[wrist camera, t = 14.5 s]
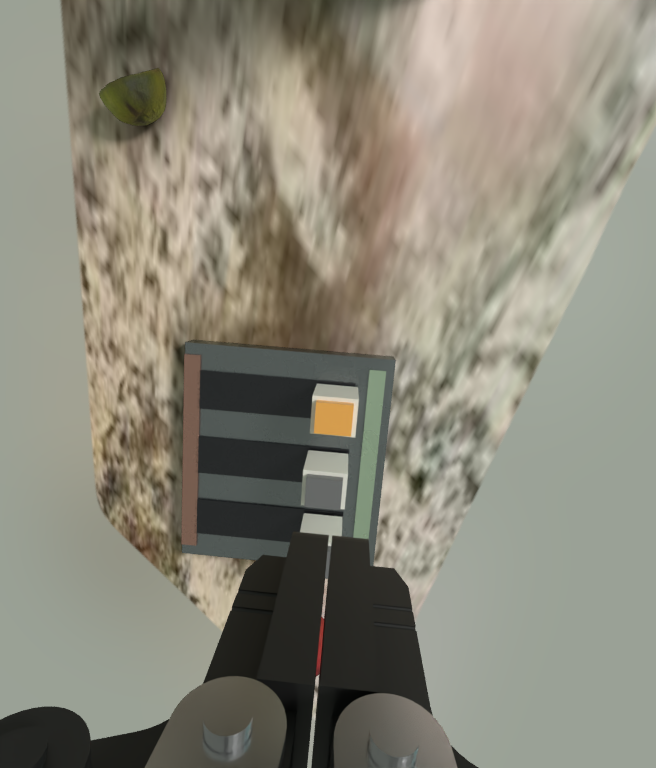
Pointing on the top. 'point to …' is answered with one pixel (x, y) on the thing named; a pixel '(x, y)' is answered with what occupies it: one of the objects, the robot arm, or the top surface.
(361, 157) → the top surface
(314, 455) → the breaker
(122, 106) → the lime
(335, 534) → the breaker
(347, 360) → the breaker board
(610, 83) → the top surface
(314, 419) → the block
